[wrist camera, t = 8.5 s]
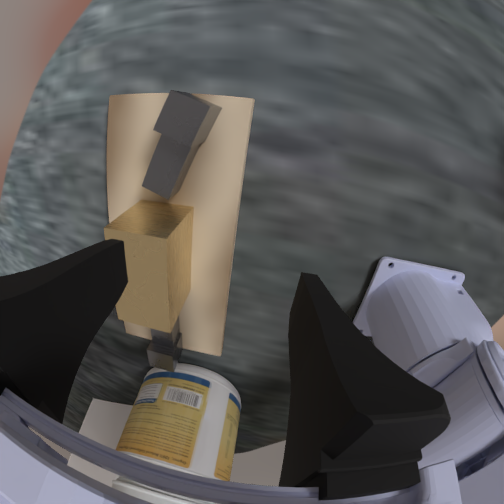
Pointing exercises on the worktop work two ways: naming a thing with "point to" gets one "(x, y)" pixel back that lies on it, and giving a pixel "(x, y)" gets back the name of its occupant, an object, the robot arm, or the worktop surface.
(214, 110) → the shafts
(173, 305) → the gold rectangular block
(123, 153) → the wooden board
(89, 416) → the milk
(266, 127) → the worktop surface
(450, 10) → the worktop surface
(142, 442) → the supplement tub
